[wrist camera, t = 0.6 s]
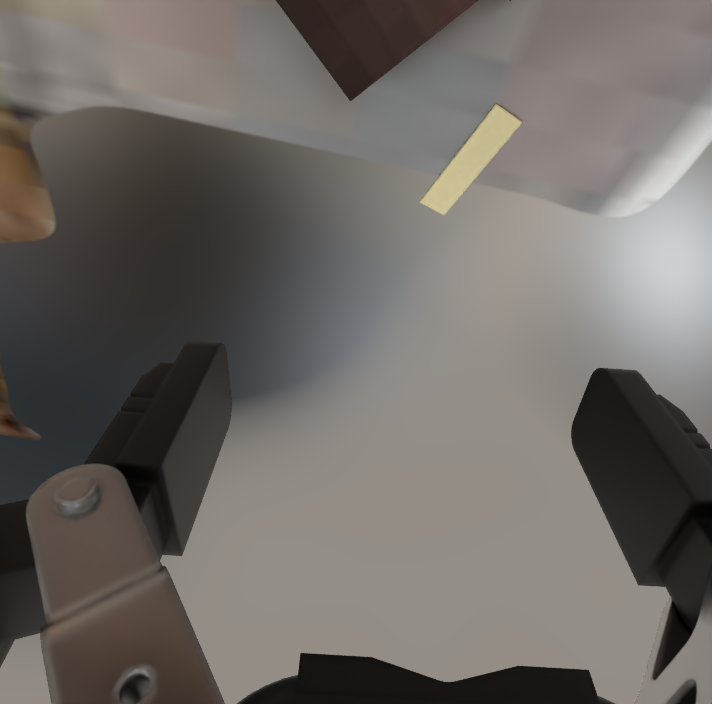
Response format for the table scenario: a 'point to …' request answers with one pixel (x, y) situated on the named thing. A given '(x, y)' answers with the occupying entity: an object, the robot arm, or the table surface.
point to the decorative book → (368, 33)
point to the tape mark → (471, 159)
